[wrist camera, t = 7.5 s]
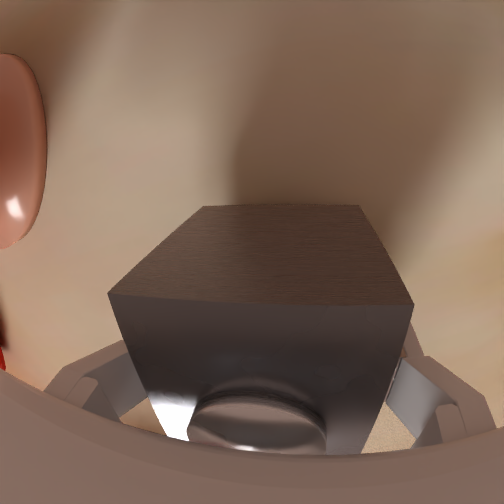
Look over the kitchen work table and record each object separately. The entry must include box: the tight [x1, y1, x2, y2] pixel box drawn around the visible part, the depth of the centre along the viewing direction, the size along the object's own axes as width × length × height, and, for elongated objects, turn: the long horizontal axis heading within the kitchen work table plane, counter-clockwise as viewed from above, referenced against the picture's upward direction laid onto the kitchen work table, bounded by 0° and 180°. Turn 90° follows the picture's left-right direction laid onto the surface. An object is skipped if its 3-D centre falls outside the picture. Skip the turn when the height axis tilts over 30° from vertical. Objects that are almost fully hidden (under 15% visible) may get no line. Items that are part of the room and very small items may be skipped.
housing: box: [108, 205, 414, 455], centre depth 8 cm, size 5×7×6 cm
